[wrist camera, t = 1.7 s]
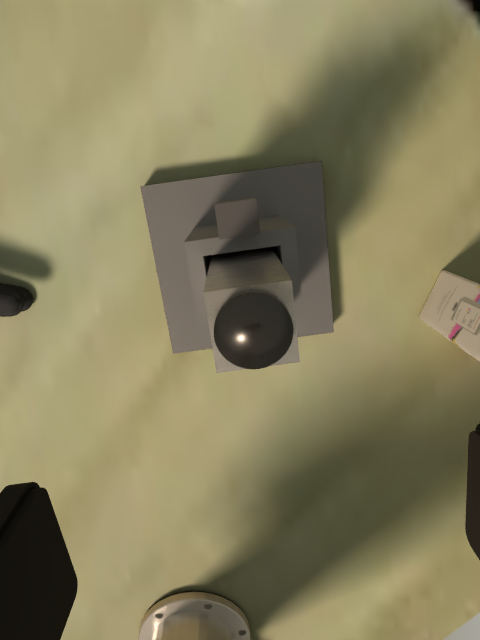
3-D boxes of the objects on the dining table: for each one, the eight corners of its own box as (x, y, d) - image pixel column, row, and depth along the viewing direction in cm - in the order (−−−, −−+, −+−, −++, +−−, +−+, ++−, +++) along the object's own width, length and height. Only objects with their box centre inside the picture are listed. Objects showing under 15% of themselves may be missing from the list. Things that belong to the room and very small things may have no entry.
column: (271, 285, 36) (304, 368, 20) (220, 292, 36) (214, 380, 20) (265, 234, 35) (295, 280, 19) (213, 241, 35) (200, 294, 19)
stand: (329, 326, 39) (367, 382, 28) (175, 347, 39) (155, 410, 28) (317, 161, 35) (357, 153, 24) (144, 186, 35) (106, 189, 24)
